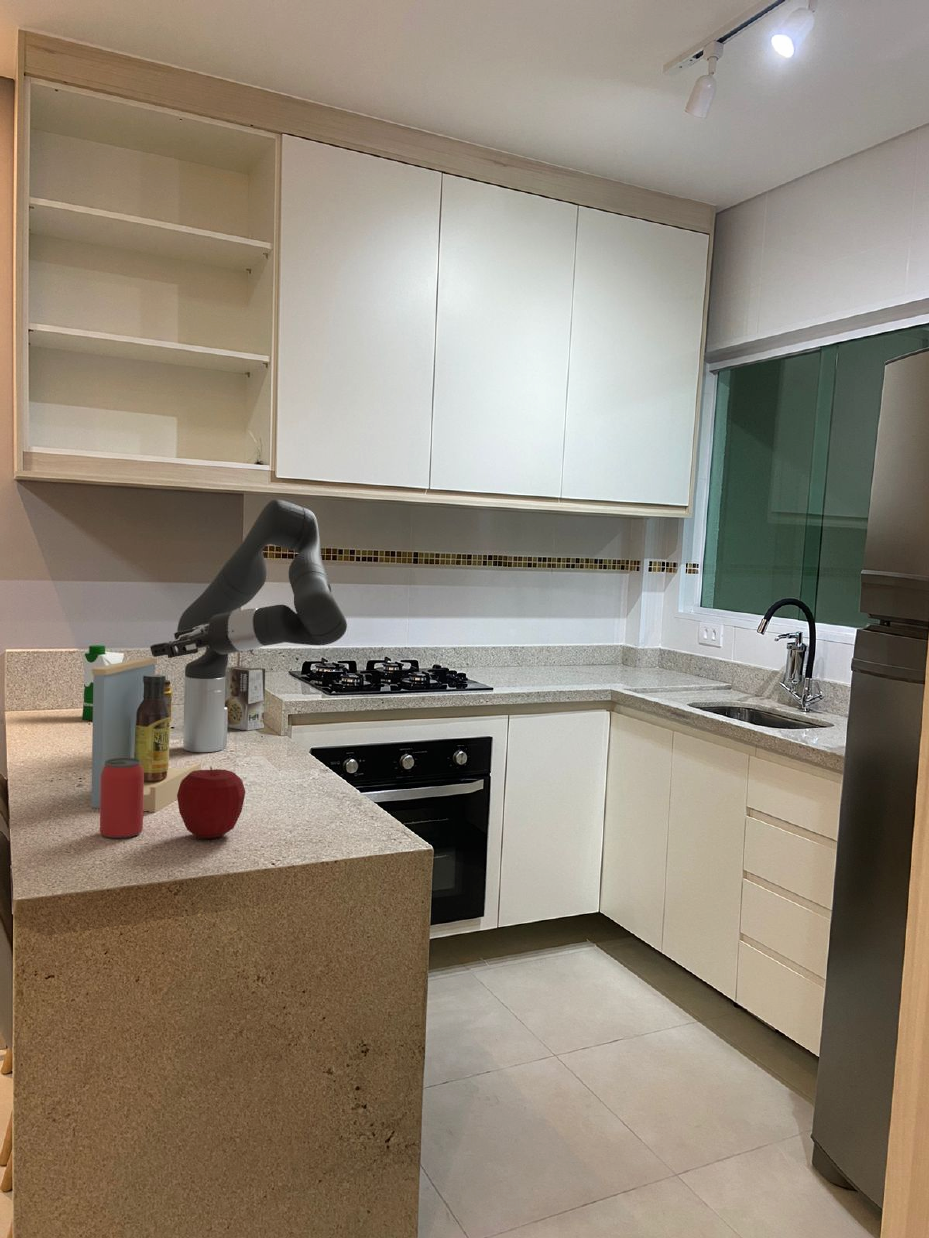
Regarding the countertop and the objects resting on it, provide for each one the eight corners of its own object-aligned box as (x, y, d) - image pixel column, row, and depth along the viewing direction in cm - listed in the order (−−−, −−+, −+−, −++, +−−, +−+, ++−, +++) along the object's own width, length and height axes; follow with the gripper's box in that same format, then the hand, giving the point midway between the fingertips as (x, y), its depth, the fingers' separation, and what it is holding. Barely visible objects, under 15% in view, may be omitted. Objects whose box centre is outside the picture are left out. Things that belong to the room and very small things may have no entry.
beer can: (106, 827, 154) (108, 756, 153) (147, 828, 154) (148, 757, 153) (94, 839, 147) (95, 765, 146) (136, 840, 148) (138, 766, 147)
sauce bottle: (157, 784, 171) (159, 678, 170) (126, 781, 172) (128, 676, 171) (175, 776, 178) (177, 674, 176) (145, 773, 179) (147, 672, 177)
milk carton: (76, 719, 247) (78, 645, 246) (102, 715, 255) (104, 643, 254) (101, 723, 243) (102, 648, 242) (126, 718, 252) (128, 645, 250)
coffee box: (265, 728, 247) (266, 668, 246) (247, 731, 241) (249, 670, 240) (240, 723, 251) (242, 665, 250) (222, 726, 246) (224, 666, 245)
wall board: (141, 781, 185) (144, 657, 183) (200, 785, 183) (203, 660, 182) (89, 807, 165) (92, 668, 163) (155, 812, 164) (158, 672, 162)
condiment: (170, 722, 249) (171, 678, 248) (175, 728, 241) (176, 682, 240) (142, 723, 246) (143, 679, 245) (146, 729, 238) (147, 683, 237)
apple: (207, 851, 144) (209, 777, 143) (161, 837, 149) (162, 766, 149) (258, 835, 153) (260, 765, 152) (212, 823, 159) (214, 756, 158)
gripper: (251, 602, 176) (177, 615, 180) (216, 621, 162) (137, 636, 167) (262, 639, 177) (188, 651, 182) (228, 661, 164) (149, 675, 168)
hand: (164, 644), depth 174 cm, fingers open, 8 cm apart
